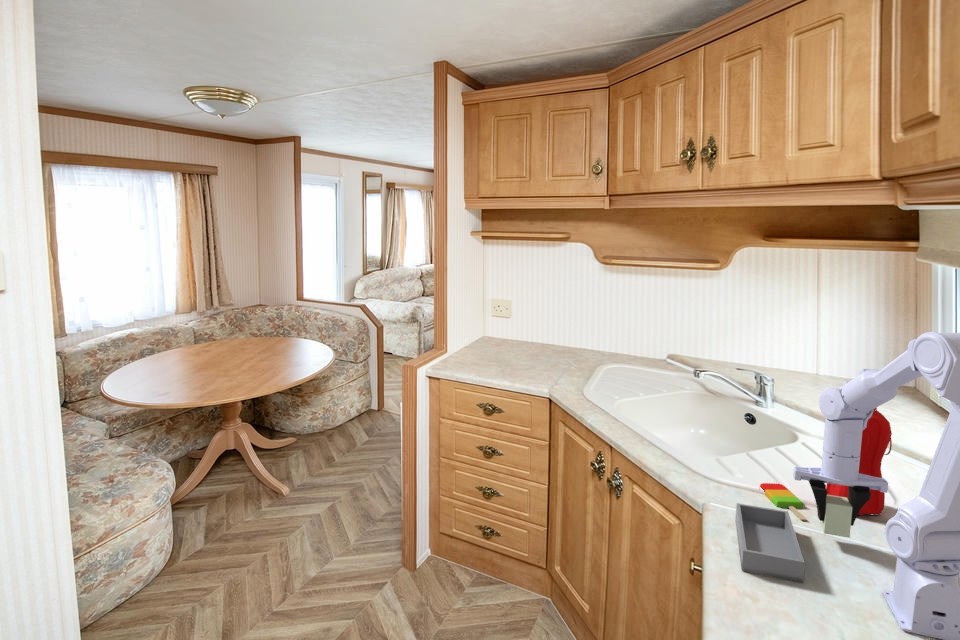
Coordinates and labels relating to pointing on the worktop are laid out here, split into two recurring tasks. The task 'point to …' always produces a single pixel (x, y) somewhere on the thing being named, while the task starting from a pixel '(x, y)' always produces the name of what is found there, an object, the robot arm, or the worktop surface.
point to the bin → (768, 543)
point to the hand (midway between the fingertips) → (835, 520)
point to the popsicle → (788, 499)
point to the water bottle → (870, 461)
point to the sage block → (837, 516)
